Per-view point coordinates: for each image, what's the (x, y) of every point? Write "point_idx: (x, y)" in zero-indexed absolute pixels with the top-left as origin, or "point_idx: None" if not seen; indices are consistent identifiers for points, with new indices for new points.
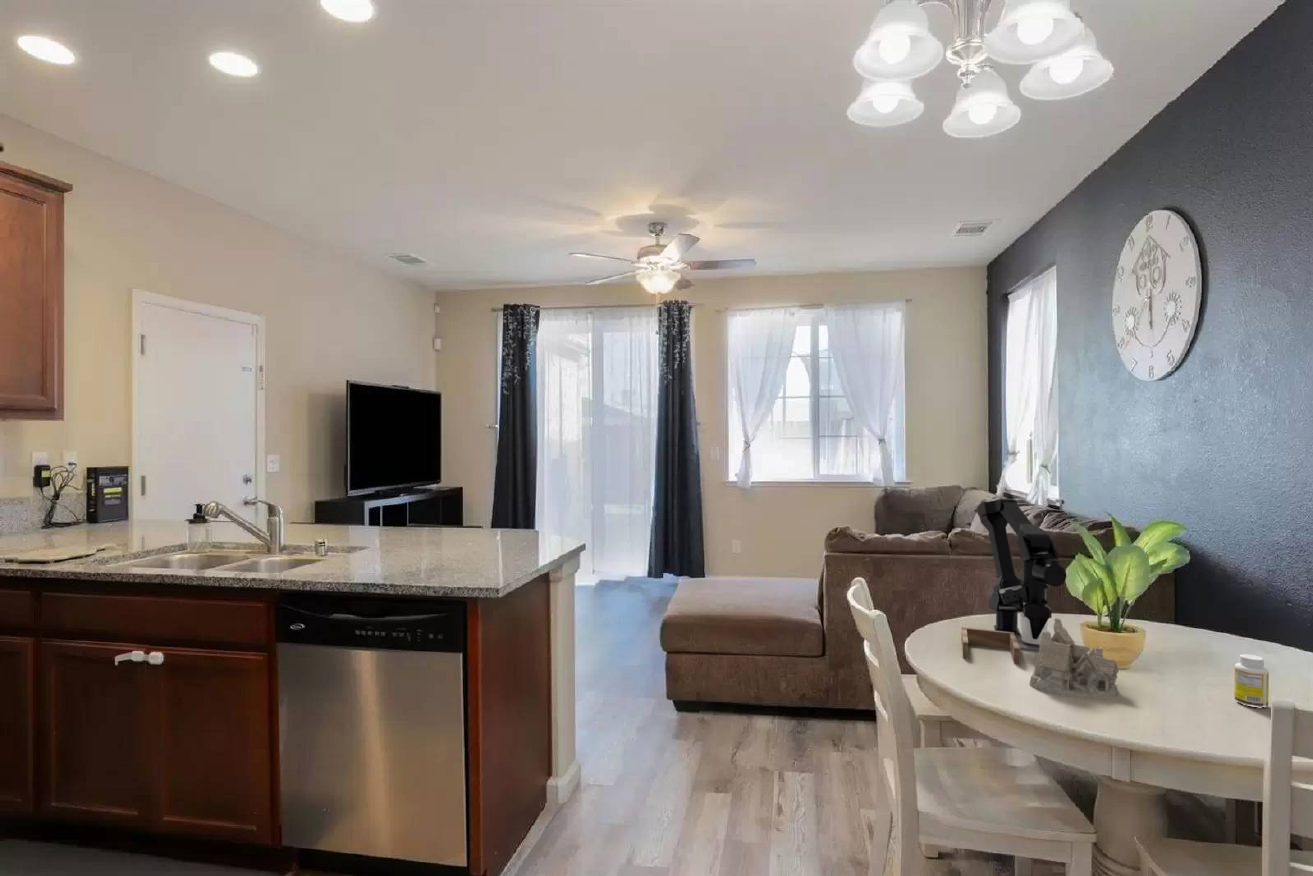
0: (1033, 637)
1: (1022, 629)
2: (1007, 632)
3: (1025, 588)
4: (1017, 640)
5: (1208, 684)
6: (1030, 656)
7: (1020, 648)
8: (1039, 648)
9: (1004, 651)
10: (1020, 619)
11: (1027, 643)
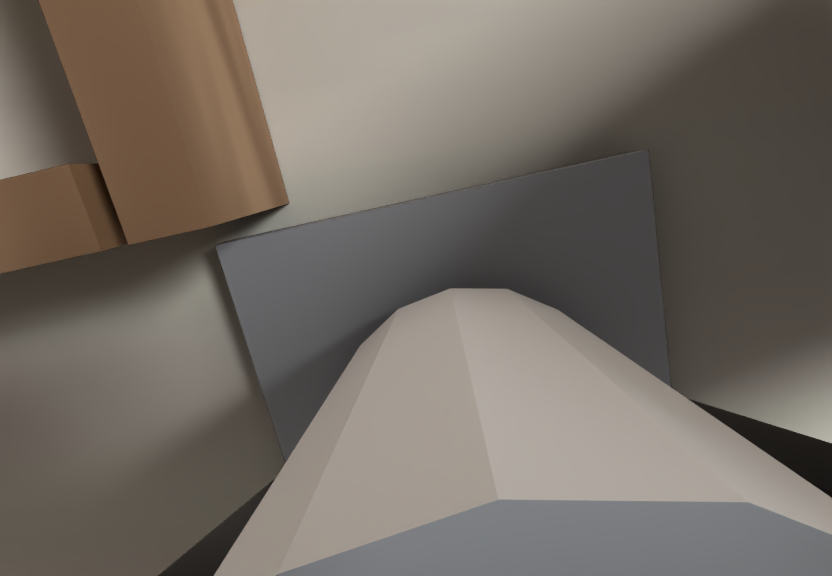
0: None
1: (368, 366)
2: (118, 112)
3: None
4: (548, 213)
5: None
6: (57, 396)
7: (234, 285)
8: None
9: (29, 130)
10: (448, 417)
11: None
